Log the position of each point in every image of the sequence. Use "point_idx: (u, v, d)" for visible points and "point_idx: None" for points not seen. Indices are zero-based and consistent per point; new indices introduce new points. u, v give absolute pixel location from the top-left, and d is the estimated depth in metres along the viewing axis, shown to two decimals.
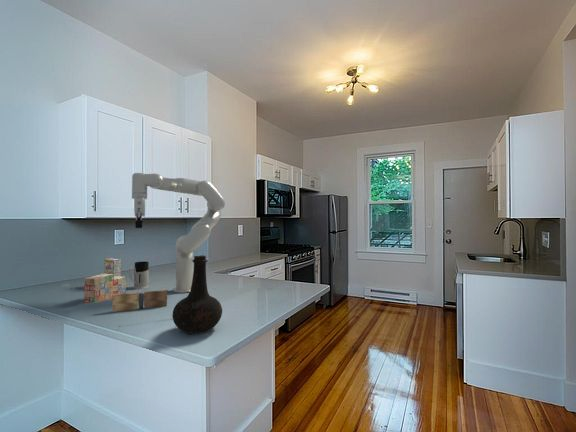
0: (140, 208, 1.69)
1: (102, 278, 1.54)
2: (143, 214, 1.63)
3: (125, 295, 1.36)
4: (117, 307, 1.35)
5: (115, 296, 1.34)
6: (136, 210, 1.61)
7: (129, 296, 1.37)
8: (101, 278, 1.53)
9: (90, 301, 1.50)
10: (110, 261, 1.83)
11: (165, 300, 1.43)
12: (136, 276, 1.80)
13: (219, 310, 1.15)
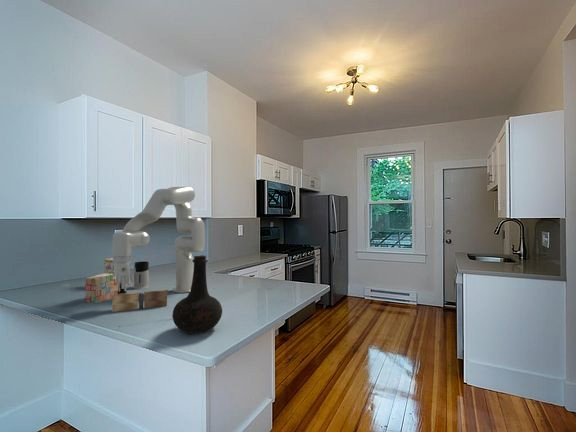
0: None
1: (103, 278, 1.54)
2: (128, 282, 1.36)
3: (125, 295, 1.36)
4: (117, 307, 1.35)
5: (115, 296, 1.34)
6: (119, 284, 1.35)
7: (129, 296, 1.37)
8: (102, 278, 1.54)
9: (91, 301, 1.51)
10: (110, 261, 1.83)
11: (165, 300, 1.43)
12: (136, 276, 1.80)
13: (219, 310, 1.15)
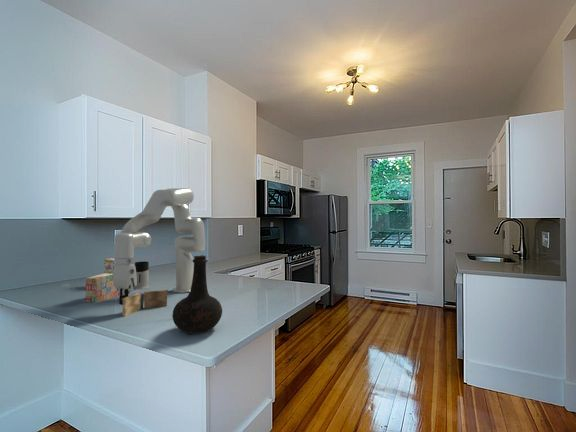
0: None
1: (103, 278, 1.55)
2: (136, 284, 1.33)
3: (133, 297, 1.33)
4: (128, 310, 1.30)
5: (127, 299, 1.29)
6: None
7: (135, 298, 1.35)
8: (102, 278, 1.54)
9: (91, 300, 1.51)
10: (110, 261, 1.83)
11: (165, 300, 1.43)
12: None
13: (219, 310, 1.15)
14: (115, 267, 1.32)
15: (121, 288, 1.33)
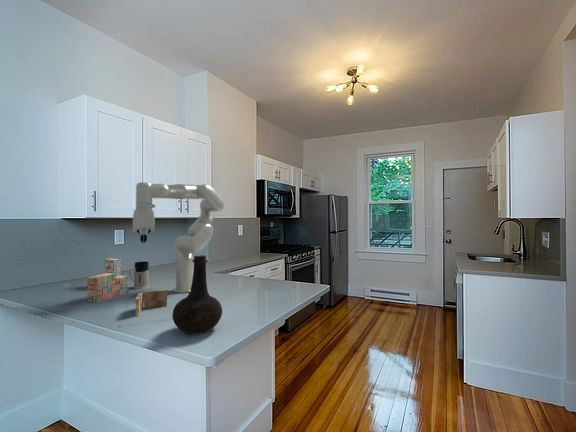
0: None
1: (105, 277, 1.56)
2: None
3: (140, 297, 1.34)
4: (139, 310, 1.31)
5: (139, 299, 1.30)
6: None
7: (141, 298, 1.35)
8: (104, 277, 1.55)
9: (93, 300, 1.52)
10: (110, 261, 1.83)
11: (165, 300, 1.43)
12: (136, 276, 1.80)
13: (219, 310, 1.15)
14: (138, 211, 1.54)
15: (141, 229, 1.56)
